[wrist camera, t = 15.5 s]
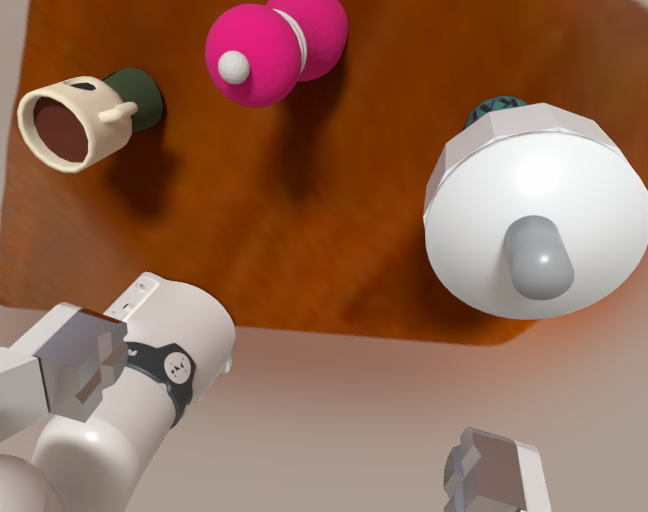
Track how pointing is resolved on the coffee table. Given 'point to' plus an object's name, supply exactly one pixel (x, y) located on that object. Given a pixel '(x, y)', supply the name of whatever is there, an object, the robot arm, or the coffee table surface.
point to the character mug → (87, 117)
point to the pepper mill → (274, 48)
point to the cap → (534, 214)
